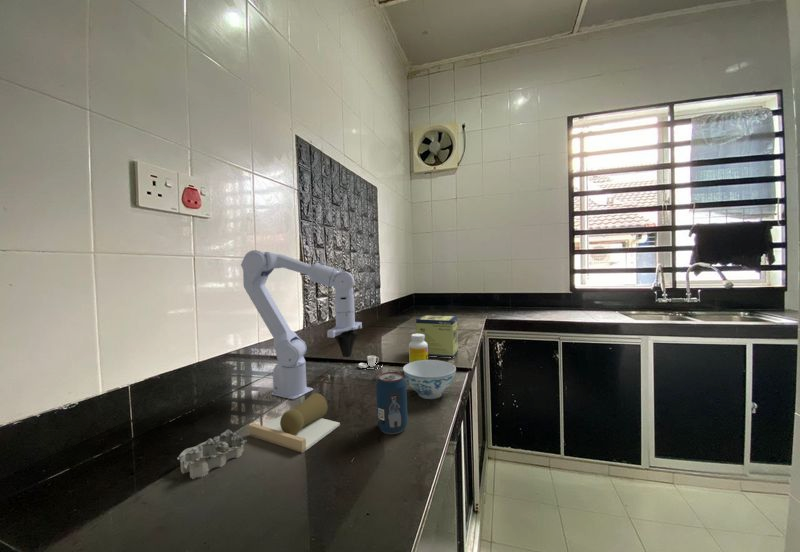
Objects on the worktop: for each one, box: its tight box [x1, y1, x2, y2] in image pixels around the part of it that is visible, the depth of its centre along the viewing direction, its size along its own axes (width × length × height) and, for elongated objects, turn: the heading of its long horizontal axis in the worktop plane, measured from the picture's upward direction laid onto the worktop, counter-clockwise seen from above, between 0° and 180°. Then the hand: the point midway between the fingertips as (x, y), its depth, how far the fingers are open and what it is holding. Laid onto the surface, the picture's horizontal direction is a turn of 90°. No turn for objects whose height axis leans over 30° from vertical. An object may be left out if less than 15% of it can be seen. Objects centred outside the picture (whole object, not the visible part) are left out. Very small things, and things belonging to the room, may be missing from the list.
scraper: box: [248, 414, 341, 454], centre depth 72 cm, size 16×12×2 cm
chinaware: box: [402, 359, 457, 400], centre depth 89 cm, size 15×15×8 cm
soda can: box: [375, 371, 408, 435], centre depth 71 cm, size 7×7×12 cm
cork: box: [280, 392, 328, 435], centre depth 73 cm, size 6×6×11 cm
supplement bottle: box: [408, 333, 429, 363], centre depth 110 cm, size 7×7×13 cm
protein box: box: [415, 315, 459, 358], centre depth 130 cm, size 10×16×16 cm
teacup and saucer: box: [357, 355, 383, 370], centre depth 117 cm, size 9×8×4 cm
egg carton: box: [176, 428, 248, 480], centre depth 61 cm, size 10×7×4 cm
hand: (346, 356), depth 94 cm, fingers closed
